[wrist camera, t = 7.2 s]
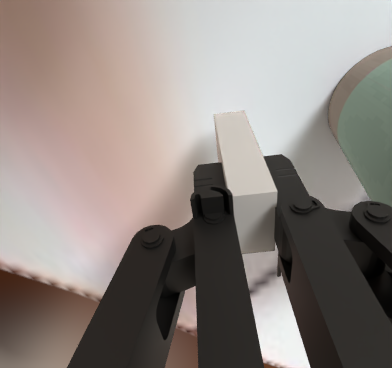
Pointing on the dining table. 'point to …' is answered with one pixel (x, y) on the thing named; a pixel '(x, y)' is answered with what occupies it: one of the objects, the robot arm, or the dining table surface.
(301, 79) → the dining table surface
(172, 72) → the dining table surface
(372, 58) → the coffee cup
